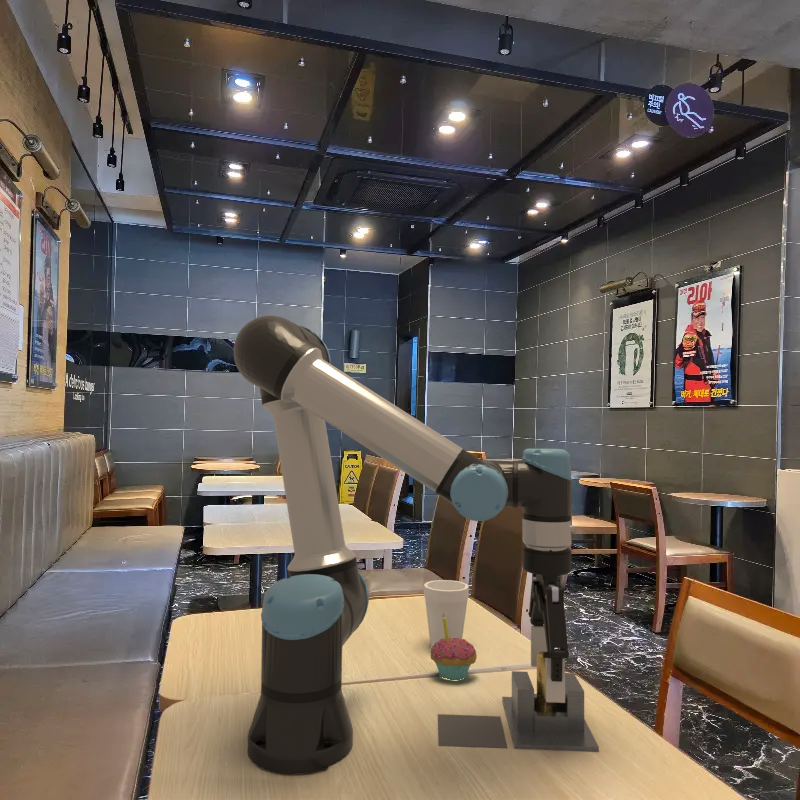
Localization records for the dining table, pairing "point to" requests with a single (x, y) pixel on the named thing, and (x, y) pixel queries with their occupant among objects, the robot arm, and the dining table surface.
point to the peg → (542, 687)
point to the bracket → (548, 718)
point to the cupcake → (453, 656)
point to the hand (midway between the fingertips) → (546, 682)
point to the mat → (471, 731)
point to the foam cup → (445, 608)
